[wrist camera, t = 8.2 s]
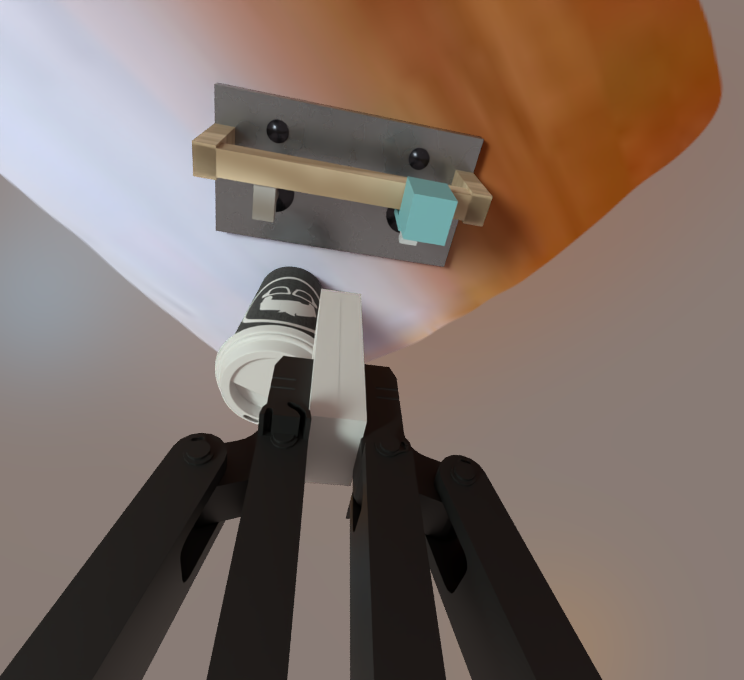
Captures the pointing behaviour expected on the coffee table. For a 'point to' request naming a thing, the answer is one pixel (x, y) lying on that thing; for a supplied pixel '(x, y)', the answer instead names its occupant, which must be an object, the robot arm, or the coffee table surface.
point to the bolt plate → (344, 147)
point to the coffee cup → (268, 339)
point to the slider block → (425, 212)
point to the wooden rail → (317, 178)
